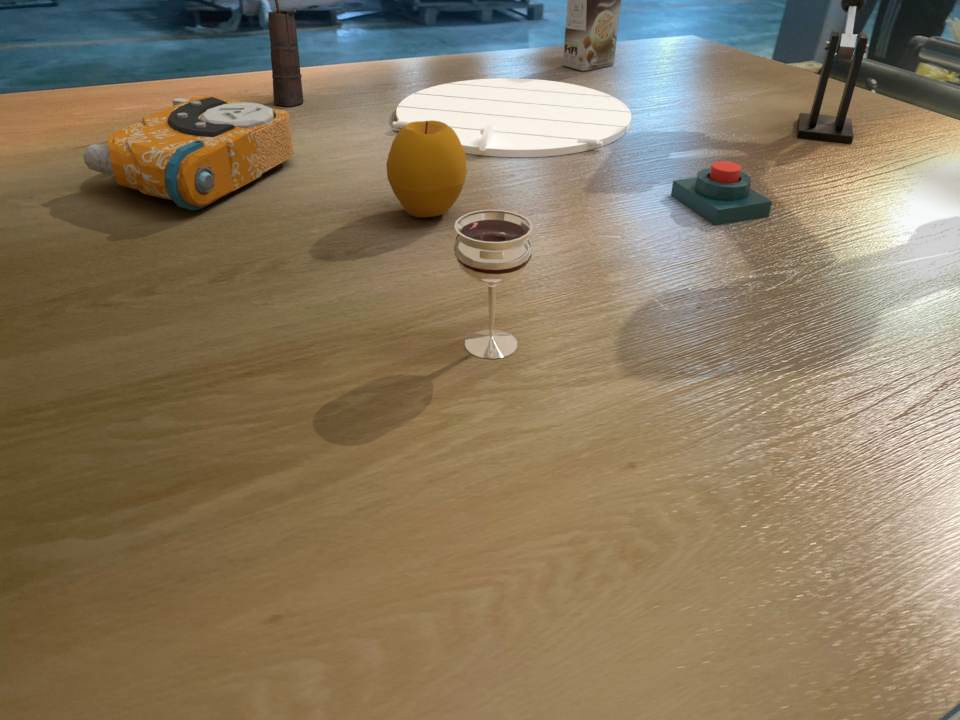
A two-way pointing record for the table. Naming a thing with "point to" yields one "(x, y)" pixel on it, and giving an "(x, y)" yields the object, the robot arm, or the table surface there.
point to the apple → (426, 168)
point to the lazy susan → (520, 116)
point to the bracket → (839, 125)
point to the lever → (849, 29)
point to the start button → (725, 172)
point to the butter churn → (285, 58)
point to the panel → (721, 199)
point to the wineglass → (492, 266)
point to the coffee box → (591, 33)
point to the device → (196, 149)
